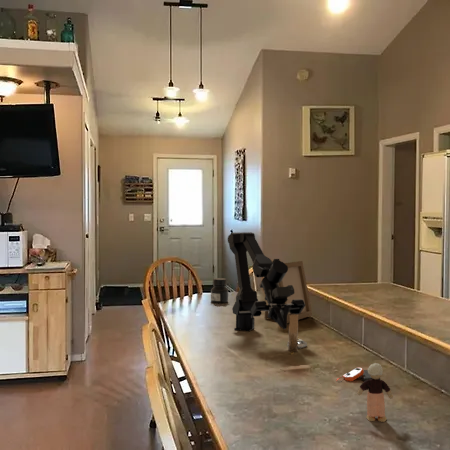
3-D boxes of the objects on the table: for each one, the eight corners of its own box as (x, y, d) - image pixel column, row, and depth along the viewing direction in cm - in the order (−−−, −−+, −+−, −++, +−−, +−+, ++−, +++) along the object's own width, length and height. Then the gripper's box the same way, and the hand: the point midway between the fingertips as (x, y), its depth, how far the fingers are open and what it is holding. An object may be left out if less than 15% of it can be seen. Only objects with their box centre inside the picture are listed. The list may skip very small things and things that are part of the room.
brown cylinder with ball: (283, 350, 174) (283, 314, 173) (289, 343, 184) (289, 309, 183) (302, 352, 172) (303, 316, 171) (307, 345, 182) (308, 310, 181)
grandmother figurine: (387, 415, 121) (389, 361, 121) (393, 422, 117) (395, 366, 117) (354, 415, 121) (356, 361, 121) (359, 422, 117) (360, 366, 117)
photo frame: (312, 317, 235) (313, 261, 234) (287, 325, 218) (288, 265, 217) (283, 313, 244) (284, 259, 243) (257, 320, 227) (258, 262, 226)
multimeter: (319, 389, 141) (319, 376, 140) (311, 375, 153) (311, 363, 153) (386, 389, 141) (386, 376, 141) (372, 375, 153) (372, 363, 153)
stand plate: (263, 342, 188) (263, 336, 188) (300, 339, 193) (300, 333, 193) (288, 357, 169) (288, 350, 169) (329, 353, 174) (329, 346, 174)
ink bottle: (207, 301, 274) (208, 278, 274) (223, 300, 278) (223, 277, 278) (215, 304, 265) (215, 280, 265) (231, 303, 269) (231, 279, 269)
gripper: (254, 277, 179) (267, 316, 169) (303, 276, 185) (318, 314, 175) (245, 296, 186) (256, 335, 176) (293, 294, 193) (306, 331, 183)
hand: (285, 328), depth 177 cm, fingers closed
